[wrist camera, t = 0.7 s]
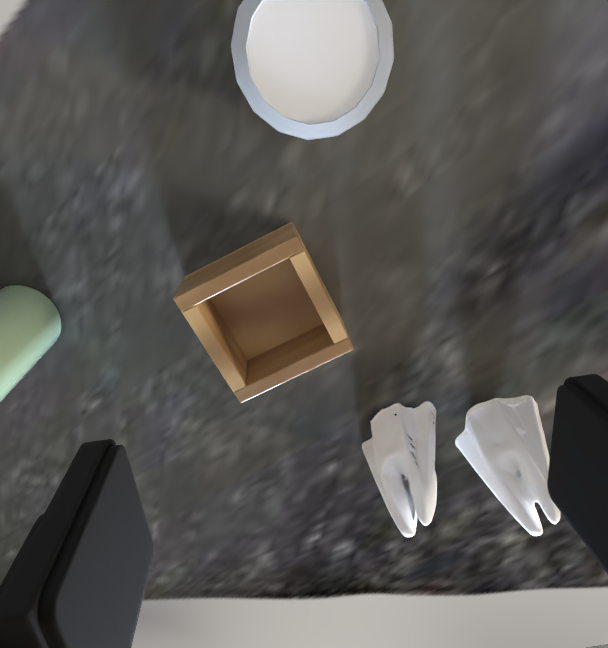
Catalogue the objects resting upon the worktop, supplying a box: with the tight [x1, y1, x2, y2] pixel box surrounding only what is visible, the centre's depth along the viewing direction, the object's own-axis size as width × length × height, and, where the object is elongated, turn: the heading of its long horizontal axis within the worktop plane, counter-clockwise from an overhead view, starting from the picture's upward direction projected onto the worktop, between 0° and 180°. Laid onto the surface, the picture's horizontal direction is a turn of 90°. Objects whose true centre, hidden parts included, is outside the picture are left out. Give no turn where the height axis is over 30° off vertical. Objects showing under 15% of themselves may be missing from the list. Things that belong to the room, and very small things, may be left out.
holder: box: [174, 222, 354, 403], centre depth 30 cm, size 8×8×4 cm
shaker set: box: [362, 395, 560, 537], centre depth 32 cm, size 12×4×11 cm, turn 97°
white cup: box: [231, 0, 394, 140], centre depth 24 cm, size 7×7×7 cm
